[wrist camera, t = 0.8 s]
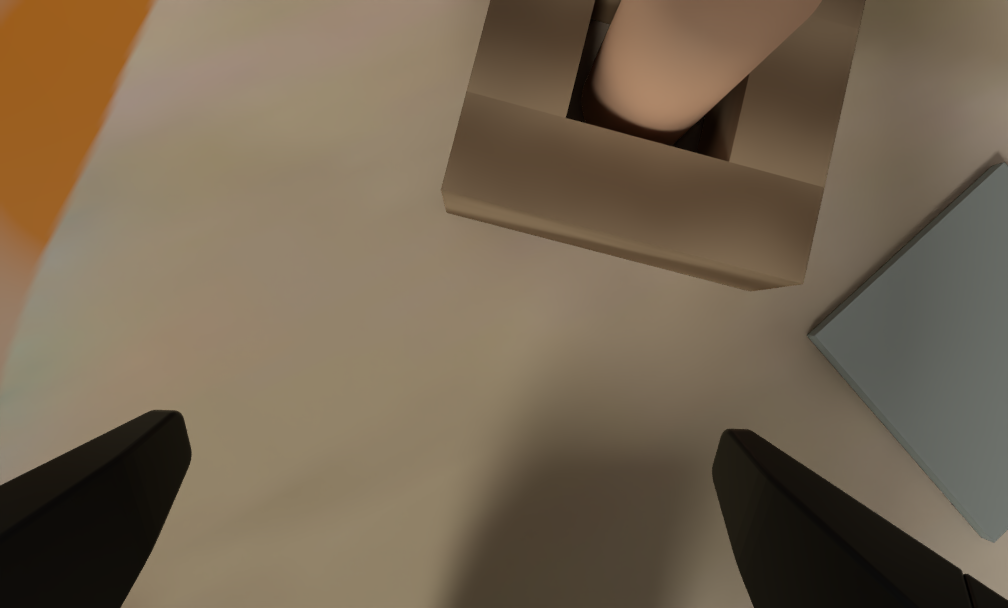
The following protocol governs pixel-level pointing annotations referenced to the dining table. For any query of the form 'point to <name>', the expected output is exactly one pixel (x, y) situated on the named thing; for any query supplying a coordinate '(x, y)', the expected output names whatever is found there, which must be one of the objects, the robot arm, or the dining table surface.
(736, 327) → the dining table surface
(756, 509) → the robot arm
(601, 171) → the pocket block
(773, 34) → the peg
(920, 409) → the pad
